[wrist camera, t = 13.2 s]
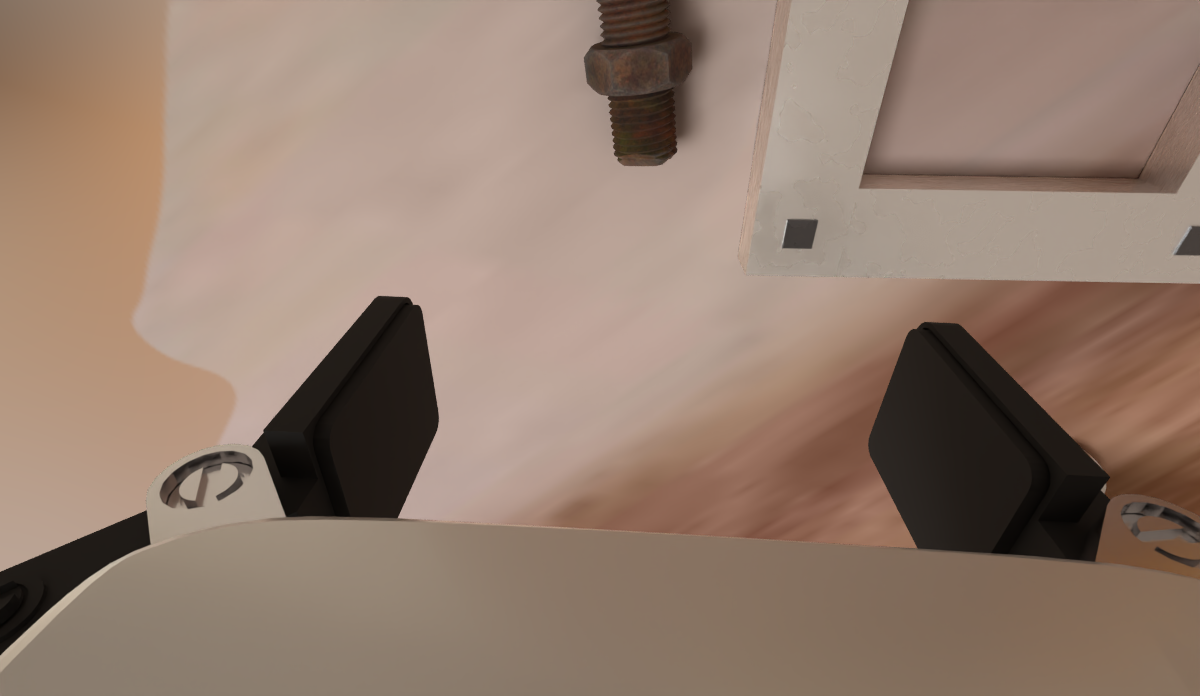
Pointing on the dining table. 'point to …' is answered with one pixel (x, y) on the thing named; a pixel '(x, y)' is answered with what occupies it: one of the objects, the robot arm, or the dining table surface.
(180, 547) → the robot arm
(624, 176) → the dining table surface
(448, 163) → the dining table surface
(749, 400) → the dining table surface
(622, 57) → the bolt
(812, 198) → the plate
